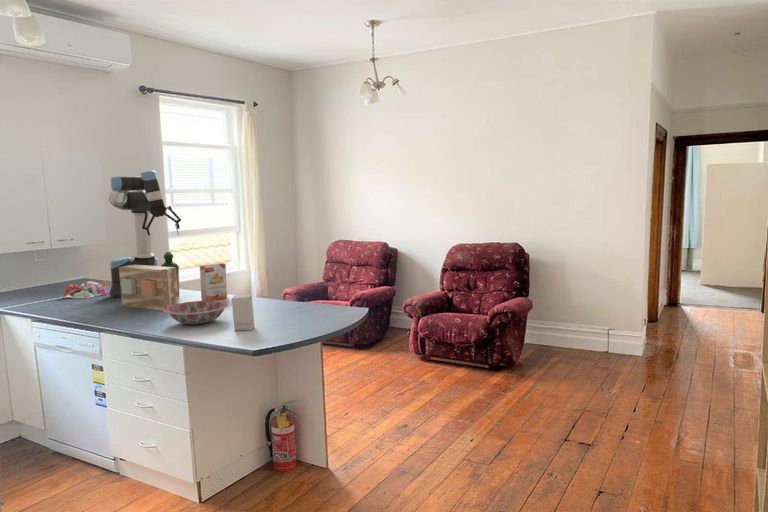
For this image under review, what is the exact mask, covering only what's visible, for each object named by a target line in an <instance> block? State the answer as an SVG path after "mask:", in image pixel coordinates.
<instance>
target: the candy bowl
mask: <svg viewBox="0 0 768 512" xmlns="http://www.w3.org/2000/svg"><path fill="white" fill-rule="evenodd" d="M101 283H102V284H101ZM101 283H98V282H95V281H86V283H81V284H80V286H78V284H75V285H73V284H68V285H66V287H65V288H66V289H64V290H63V292H64V293H63V297H64V298H65V297H72V298H85V299H91V298H90V297H92V298H95V297H94V296H96V297H101V296H100V295H103V296H106V295H110V294H109V293H110V286H111V281H109V282H107V280H106V279H103V280H102V281H101ZM105 294H106V295H105Z"/></svg>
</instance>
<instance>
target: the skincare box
mask: <svg viewBox="0 0 768 512" xmlns="http://www.w3.org/2000/svg"><path fill="white" fill-rule="evenodd" d="M231 305H232V306H231V307H232V318H233V327H234V331H235V330H246V331H253V329H254V328H255V316H254V315H255V314H254V307H253V295H252V294H241V295H240V294H237V295H234V296H232V298H231Z"/></svg>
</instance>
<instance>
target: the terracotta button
mask: <svg viewBox="0 0 768 512" xmlns="http://www.w3.org/2000/svg"><path fill="white" fill-rule="evenodd" d="M141 291H142V295H144V296H155V295H157V294H156V281H154V280H142V281H141Z"/></svg>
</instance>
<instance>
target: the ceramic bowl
mask: <svg viewBox="0 0 768 512" xmlns="http://www.w3.org/2000/svg"><path fill="white" fill-rule="evenodd" d="M227 307H229V304H228V302H225V301H222V300H214V301H202V300H194V301H186V302H181V303H179V304H175V305H172V306H169V307H167V308H166V309H165V310H164V313H167V314H169V316H171V318H172V319H173V320H174V321H176V322H177V323H181V324H183V325H200V324H205V323H210V322H212V321H215V320H216V319H217V318H219V317H220V316H221V315H222V314H223V312H224V311H225V309H227Z"/></svg>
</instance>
